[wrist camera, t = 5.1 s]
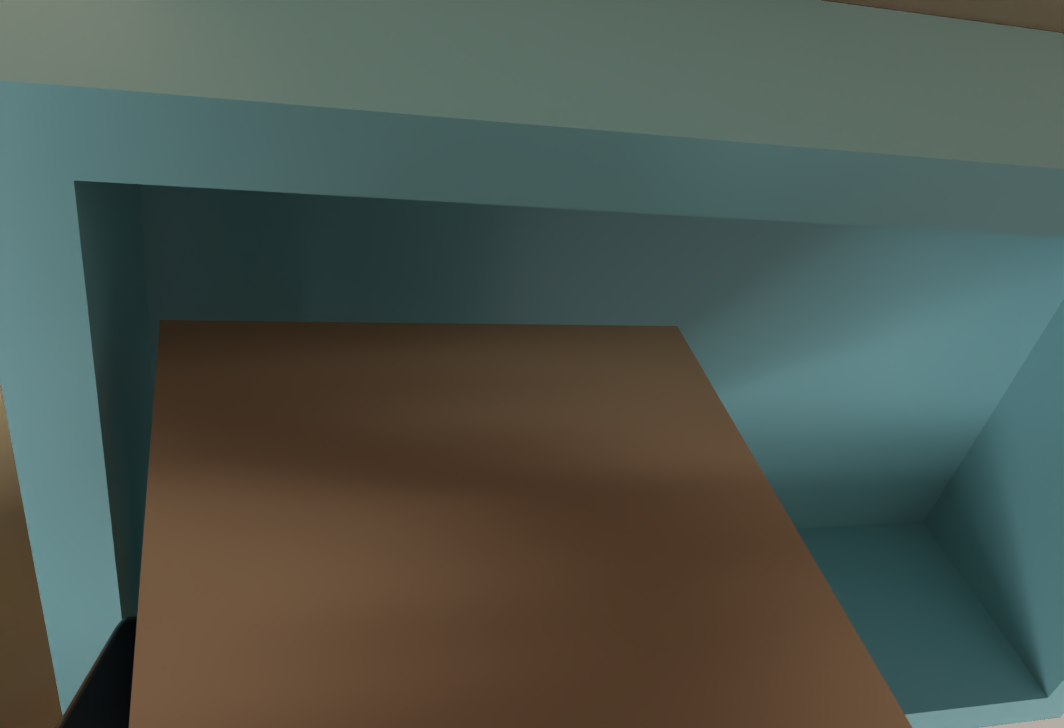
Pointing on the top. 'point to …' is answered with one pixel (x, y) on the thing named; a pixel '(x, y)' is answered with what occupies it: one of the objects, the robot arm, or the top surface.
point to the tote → (575, 263)
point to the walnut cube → (472, 539)
